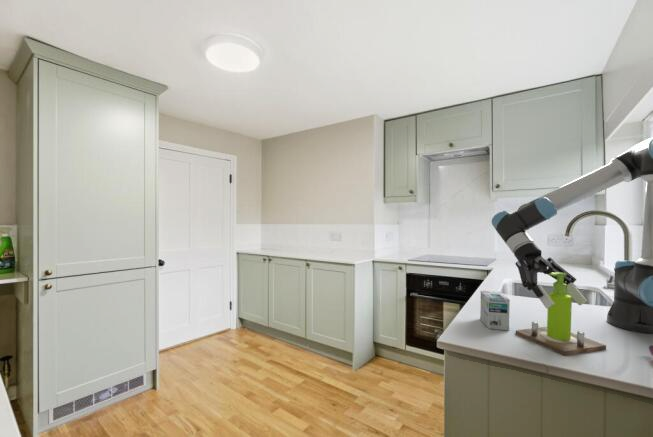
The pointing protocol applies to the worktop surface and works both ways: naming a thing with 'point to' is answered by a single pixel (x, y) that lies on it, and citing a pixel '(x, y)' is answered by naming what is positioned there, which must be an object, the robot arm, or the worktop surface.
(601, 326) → the worktop surface
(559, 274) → the soap dispenser
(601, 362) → the worktop surface
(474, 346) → the worktop surface
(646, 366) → the worktop surface
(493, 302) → the light bulb box
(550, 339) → the locator board
